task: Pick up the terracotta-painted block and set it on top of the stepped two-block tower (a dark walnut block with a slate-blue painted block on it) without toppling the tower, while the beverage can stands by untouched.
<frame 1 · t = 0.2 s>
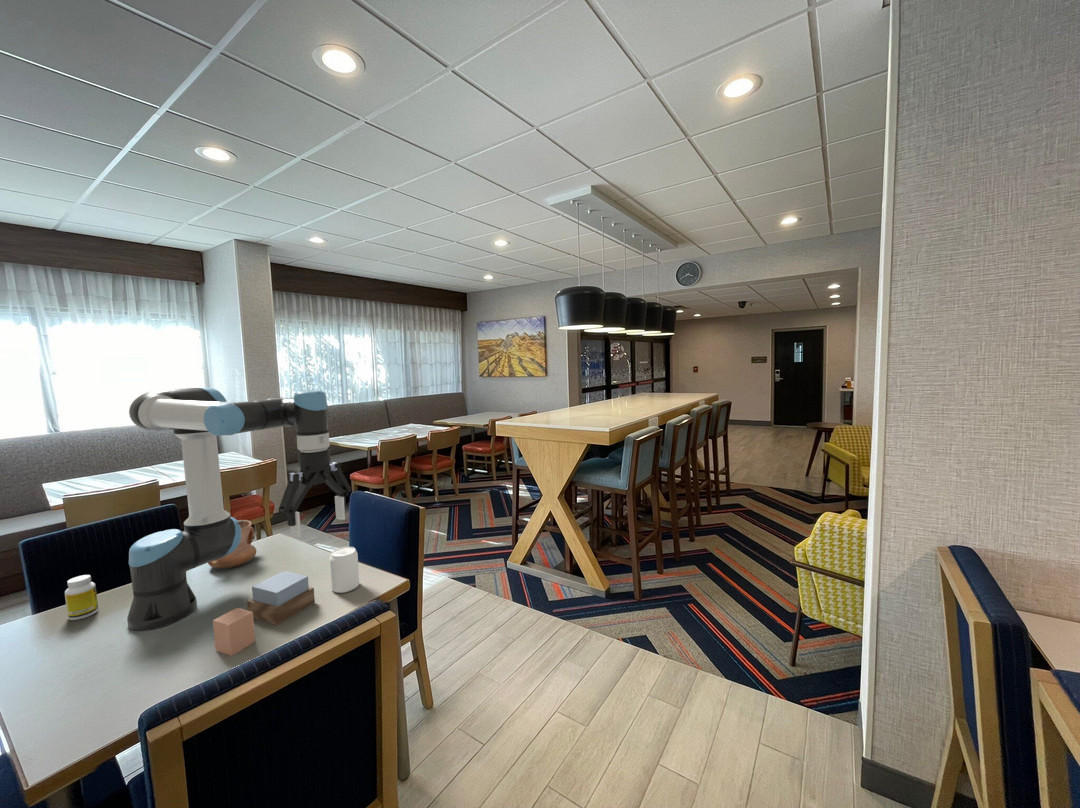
hand: (319, 527, 117), 27 cm above the table, fingers open, 13 cm apart
terracotta block: (235, 645, 111), on the table
ceramic jug: (234, 563, 159), on the table
pill bottle: (83, 615, 127), on the table
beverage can: (345, 588, 139), on the table
slate block: (281, 594, 127), point 5 cm above the table, touching walnut block
walnut block: (282, 610, 128), on the table, touching slate block
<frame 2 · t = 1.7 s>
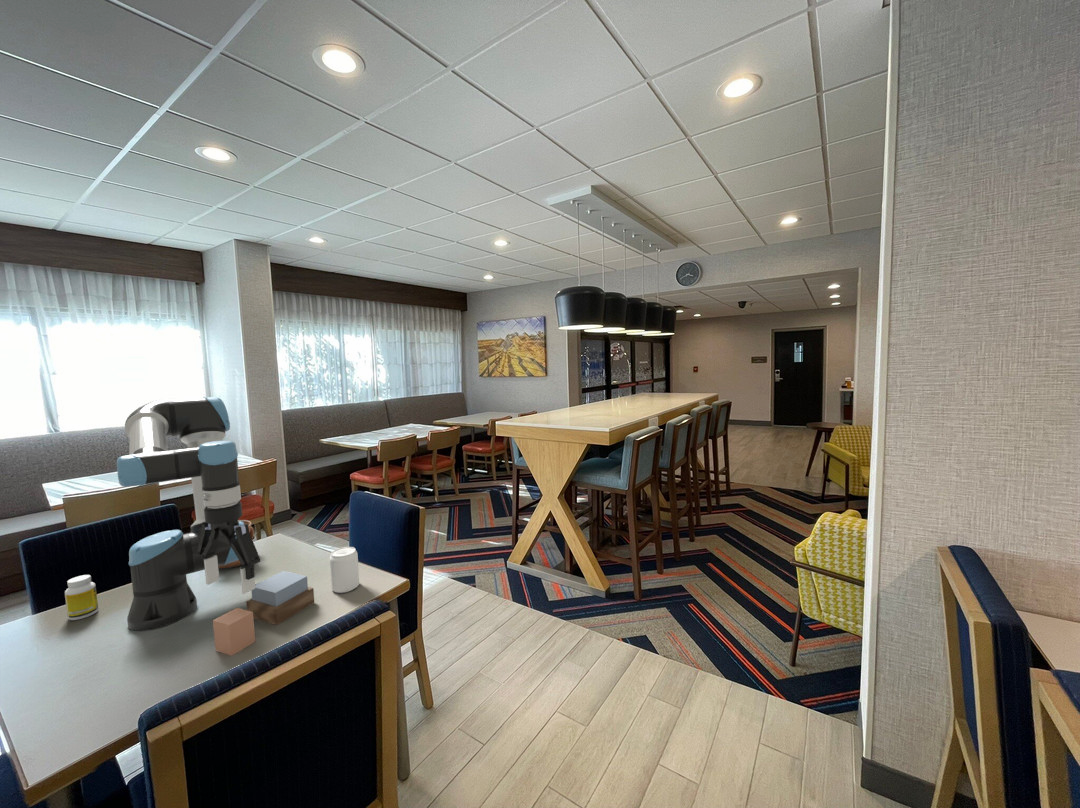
hand: (230, 586, 110), 16 cm above the table, fingers open, 13 cm apart
slate block: (280, 594, 127), point 5 cm above the table
walnut block: (282, 610, 128), on the table
everything else where it was.
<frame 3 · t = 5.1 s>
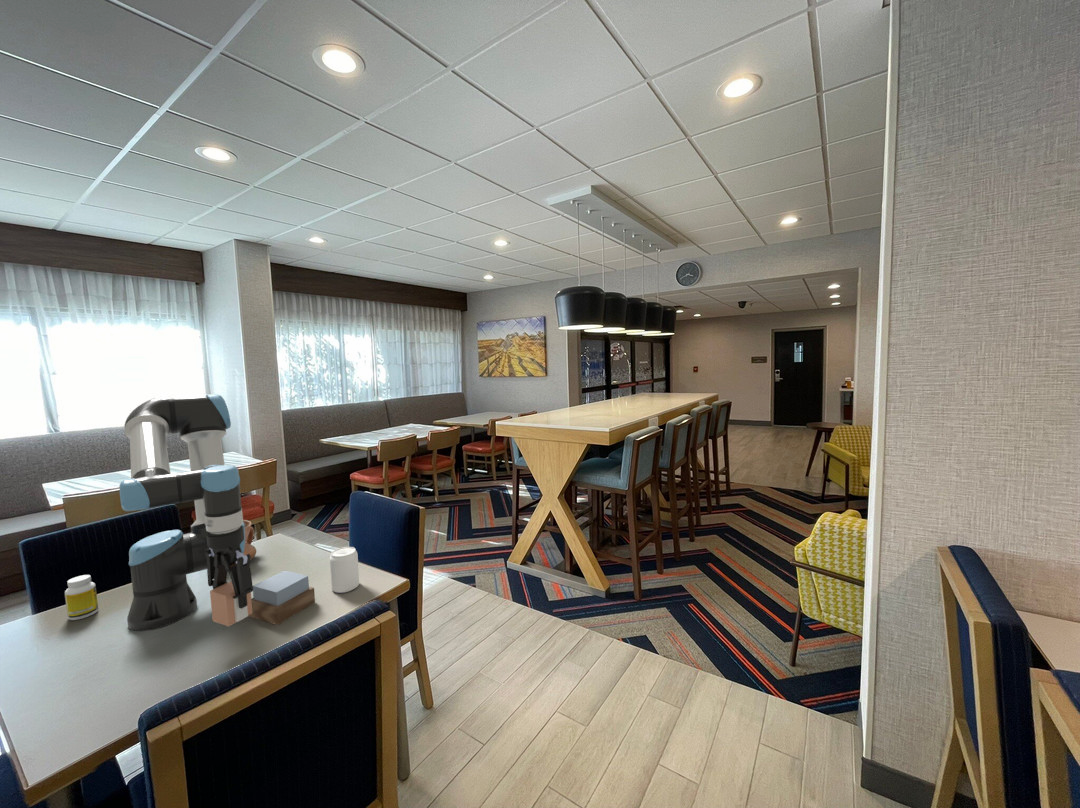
hand: (232, 615, 111), 8 cm above the table, fingers closed on terracotta block, 6 cm apart
terracotta block: (232, 617, 111), point 7 cm above the table, touching gripper
slate block: (281, 593, 128), point 5 cm above the table, touching walnut block
walnut block: (282, 610, 128), on the table, touching slate block
everything else where it was.
when the fingers open (10 cm above the table, at t = 9.8 s): terracotta block stays where it is, point 9 cm above the table.
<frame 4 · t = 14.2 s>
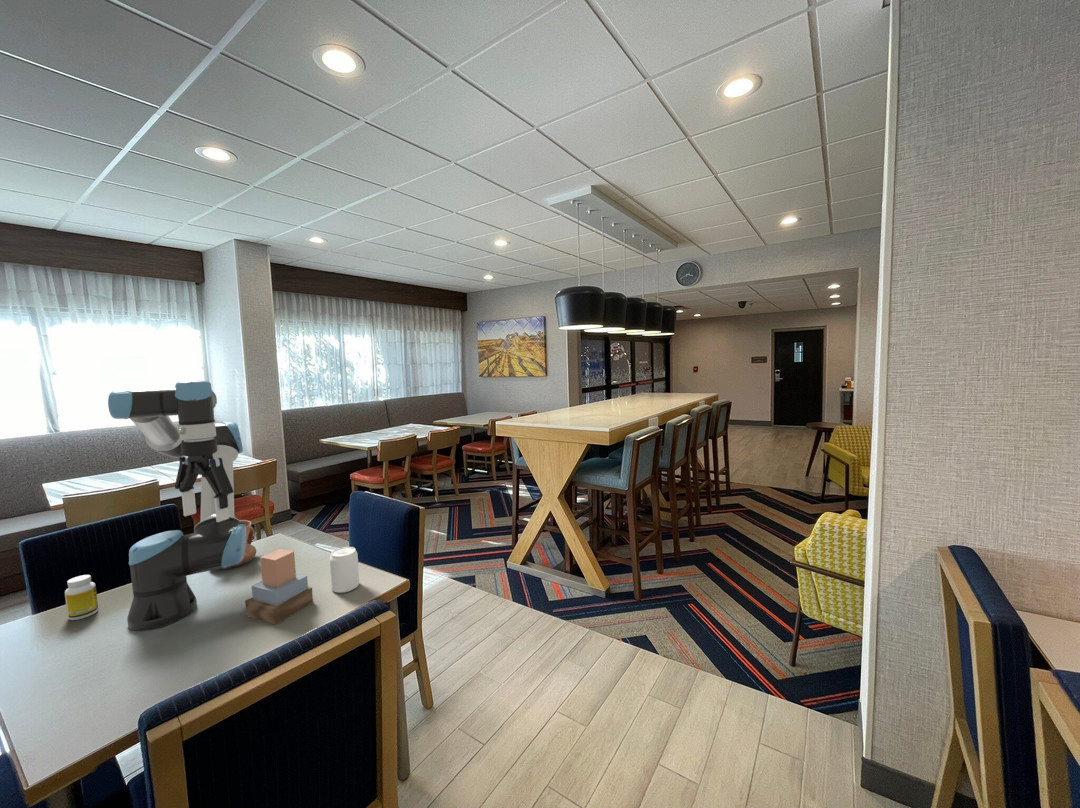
hand: (206, 517, 117), 31 cm above the table, fingers open, 13 cm apart
terracotta block: (279, 580, 127), point 9 cm above the table
everything else where it was.
at the end: terracotta block inside the target area on the walnut block (0.5 cm from its centre), point 9.0 cm above the walnut block's base; terracotta block tilted 0°; slate block moved 0.7 cm from its start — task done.
